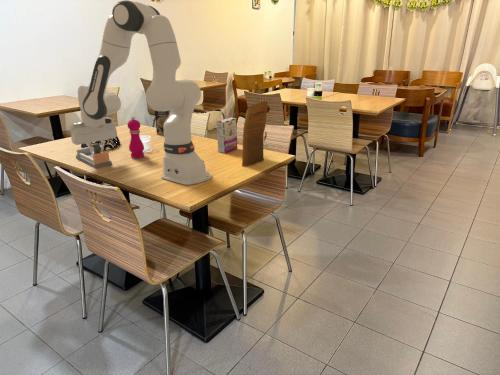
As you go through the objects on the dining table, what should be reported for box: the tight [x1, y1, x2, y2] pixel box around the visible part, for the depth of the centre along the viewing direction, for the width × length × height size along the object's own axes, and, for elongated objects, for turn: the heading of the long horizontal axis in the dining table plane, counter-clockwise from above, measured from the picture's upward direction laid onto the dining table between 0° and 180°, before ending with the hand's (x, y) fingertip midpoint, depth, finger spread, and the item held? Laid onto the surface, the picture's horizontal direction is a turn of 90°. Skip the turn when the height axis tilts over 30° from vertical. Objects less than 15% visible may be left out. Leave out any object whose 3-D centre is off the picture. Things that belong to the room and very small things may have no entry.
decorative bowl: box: [80, 136, 121, 152], centre depth 206 cm, size 20×20×14 cm
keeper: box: [92, 143, 102, 158], centre depth 177 cm, size 5×4×8 cm
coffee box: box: [154, 110, 171, 136], centre depth 233 cm, size 9×6×16 cm
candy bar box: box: [216, 117, 238, 154], centre depth 197 cm, size 11×5×16 cm, turn 146°
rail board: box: [75, 146, 113, 169], centre depth 182 cm, size 22×8×6 cm, turn 45°
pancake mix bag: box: [241, 100, 269, 167], centre depth 175 cm, size 7×19×28 cm, turn 143°
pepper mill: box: [127, 116, 145, 159], centre depth 187 cm, size 7×7×20 cm
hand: (97, 150), depth 177 cm, fingers closed on keeper, 3 cm apart
